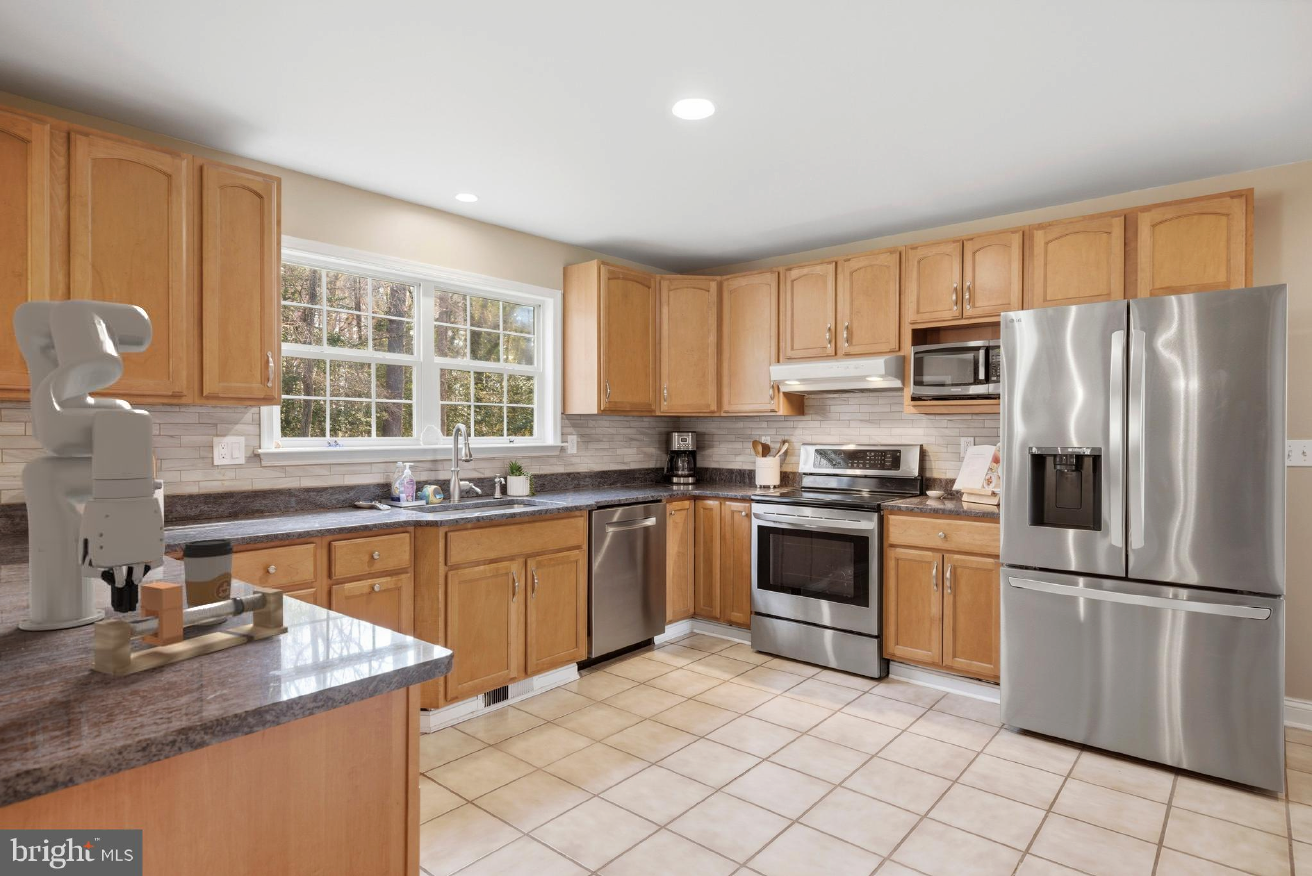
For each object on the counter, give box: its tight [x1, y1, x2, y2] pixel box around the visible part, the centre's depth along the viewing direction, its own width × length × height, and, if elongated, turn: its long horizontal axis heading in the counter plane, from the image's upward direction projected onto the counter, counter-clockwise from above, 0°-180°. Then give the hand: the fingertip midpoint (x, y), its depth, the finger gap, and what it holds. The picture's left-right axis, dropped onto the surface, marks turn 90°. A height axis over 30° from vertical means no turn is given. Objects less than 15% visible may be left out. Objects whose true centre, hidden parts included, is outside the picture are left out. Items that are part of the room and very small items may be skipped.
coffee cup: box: [181, 538, 235, 626], centre depth 138 cm, size 8×8×15 cm
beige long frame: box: [90, 587, 289, 677], centre depth 121 cm, size 27×8×7 cm, turn 152°
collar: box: [140, 581, 184, 647], centre depth 116 cm, size 3×6×9 cm, turn 63°
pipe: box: [125, 593, 267, 640], centre depth 121 cm, size 25×3×3 cm, turn 152°
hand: (124, 610), depth 111 cm, fingers closed
